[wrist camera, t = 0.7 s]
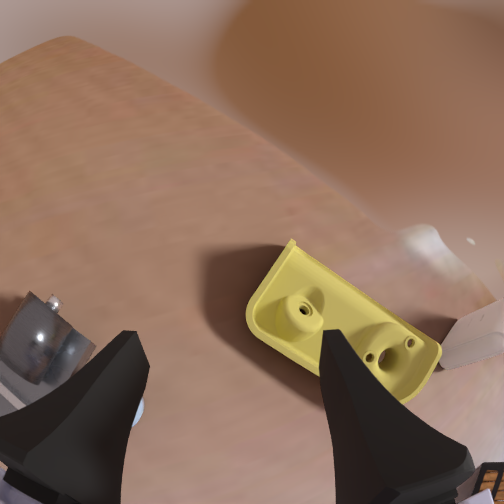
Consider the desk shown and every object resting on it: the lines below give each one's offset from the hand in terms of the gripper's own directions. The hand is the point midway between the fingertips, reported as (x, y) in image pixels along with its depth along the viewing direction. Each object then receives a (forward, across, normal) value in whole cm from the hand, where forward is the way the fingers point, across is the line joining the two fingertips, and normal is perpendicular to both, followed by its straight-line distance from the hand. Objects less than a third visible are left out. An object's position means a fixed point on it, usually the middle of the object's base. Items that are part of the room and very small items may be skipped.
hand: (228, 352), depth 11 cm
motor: (+3, +19, +9) cm, 21 cm away
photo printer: (+19, -28, +22) cm, 40 cm away
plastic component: (+15, -8, +14) cm, 22 cm away
